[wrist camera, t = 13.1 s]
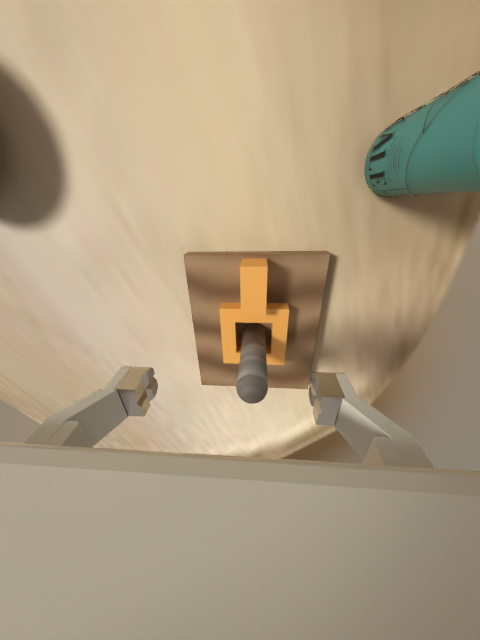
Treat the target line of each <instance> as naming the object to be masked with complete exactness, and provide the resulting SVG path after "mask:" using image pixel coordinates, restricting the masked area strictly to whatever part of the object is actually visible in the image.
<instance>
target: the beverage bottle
mask: <svg viewBox="0 0 480 640" xmlns="http://www.w3.org/2000/svg"><path fill="white" fill-rule="evenodd" d="M477 74H478V75H477ZM477 74H476V75H477V76H476V77H475V76H474V75H475V74H473V75H472V76H474V78H472V79H470V80H469V79H468V78H466V79H468V80H469V81H468V80H466V79H465V80H466V81H467V82H466V81H465V80H464V82H463V81H462V83H461V82H460V83H461V85H459V84H458V85H455V86H458V87H456V88H455V89H453V90H452V89H451V88H450V90H451V91H450V92H449V90H448V91H446V92H447V93H446V92H445V95H443V94H442V96H441V97H440V96H439V97H440V98H438V99H436V100H434V101H433V102H431V103H429V104H428V105H424V106H423V107H421V108H420V107H419V108H420V109H418V108H417V110H416V109H415V110H416V112H414V113H412V114H410V115H408V116H405V117H404V116H403V117H401V119H402V120H401V119H398V121H397V120H396V121H397V123H396V122H395V123H394V124H393V123H392V125H391V126H390V127H388V128H387V129H386V130H385V131H384V132H383V133H381V135H378V136H379V137H378V138H377V140H376V139H375V140H376V141H375V142H373V143H374V144H373V145H372V147H371V149H370V151H369V152H368V156H367V158H366V162H365V178H366V182H367V183H368V185H369V188H371V189H372V190H373V192H376V193H377V194H379V195H383V197H384V196H388V197H389V196H392V197H393V196H403V195H407V196H408V195H409V196H410V195H420V194H428V193H448V192H470V191H480V71H478V72H477ZM469 78H470V77H469ZM463 83H464V84H463ZM453 88H454V87H453ZM443 93H444V92H443ZM437 97H438V96H437ZM437 97H436V98H437ZM431 100H432V99H431ZM426 103H427V102H426ZM413 111H414V110H413ZM411 112H412V111H411ZM411 112H410V113H411ZM408 114H409V113H408ZM406 115H407V114H406ZM399 120H400V121H399ZM379 195H378V196H379ZM419 197H420V196H419ZM397 198H398V197H397Z"/></svg>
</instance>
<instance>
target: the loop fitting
mask: <svg viewBox="0 0 480 640" xmlns="http://www.w3.org/2000/svg"><path fill="white" fill-rule="evenodd" d="M267 272H268V265H267V258H242V261H241V265H240V293H241V303H221V306H220V308H219V311H220V324H221V337H222V351H223V363H235V364H239V362H240V354H241V346H242V345H238V344H237V322H243V323H272V325H271V346H267V345H266V360H267V365H284V363H285V352H286V340H287V329H288V318H289V307H288V303H266V300H267Z"/></svg>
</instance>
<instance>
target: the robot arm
mask: <svg viewBox="0 0 480 640" xmlns="http://www.w3.org/2000/svg"><path fill="white" fill-rule="evenodd" d="M154 374H155V373H154V370H153V368H151V367H129V366H124V367H121V368H120V370H119V371H118V372H117V373H116V374H115V376H114V377H113V378H112V379H111V381H110V382H109V383H108V384H107V385H106V387H105V388H104V389H100V390H98V391H96V392H94V393H92V394H91V395H89V396H87V397H85V398H83V399H82V400H80V401H78V402H76V403H75V404H73V405H71V406H69V407H67V408H66V409H64V410H62V411H60V412H58V413H57V414H55V415H53V416H51V417H49V418H48V419H46V421H45V422H44V423H43V424H42V425H41V426H40V427H39V428H38V429H37V430H36V431H35V432H34V433H33V434H32V435H31V436H30V437H29V438H28V439H27V440H26V441H25V442H24V443H10V442H0V640H480V471H467V470H450V469H435V468H434V467H433V465H432V464H431V462H430V461H429V459H428V458H427V456H426V455H425V453H424V451H423V450H422V448H421V447H420V446H419V444H418V442H417V441H416V439H415V438H414V437H413V436H411V435H410V434H409V433H407V432H406V431H405V430H403V429H402V428H401V427H399V426H398V425H397V424H395V423H394V422H392V421H391V420H390V419H388V418H387V417H386V416H384V415H383V414H382V413H380V412H379V411H378V410H376V409H375V408H373V407H372V406H371V405H369V404H368V403H367V402H365V401H364V400H363V399H358V397H357V395H356V393H355V391H354V389H353V387H352V385H351V383H350V381H349V379H348V377H347V375H346V374H345V373H325V372H313V373H312V375H311V380H312V383H311V384H310V387H309V398H310V403H311V405H312V406H313V407H314V408H313V415H314V419H315V423H316V425H329V426H335V428H336V429H337V430H338V431H339V432H340V433H341V434H342V436H343V437H344V438H345V439H346V440H347V441H348V442H349V443H350V444H351V446H352V447H353V448H354V449H355V450H356V451H357V452H358V454H359V455H360V456H361V457H362V458H363V459H364V461H363V464H353V463H337V462H321V461H304V460H287V459H272V458H255V457H238V456H222V455H206V454H190V453H174V452H157V451H141V450H125V449H108V448H93V446H94V445H95V444H97V443H98V442H99V441H100V440H101V439H102V438H104V437H105V436H106V435H107V434H108V433H110V432H111V431H112V430H113V429H114V428H115V427H117V426H118V425H119V424H120V423H121V422H122V421H124V420H125V419H126V418H127V417H128V416H145V414H146V412H147V410H148V409H149V407H150V402H149V401H151V400H152V399H153V398H154V397H155V395H156V393H157V388H158V384H157V380H156V379H155V378H154V377H153V375H154Z"/></svg>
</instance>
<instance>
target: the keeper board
mask: <svg viewBox="0 0 480 640" xmlns="http://www.w3.org/2000/svg"><path fill="white" fill-rule="evenodd" d="M242 258H267V265H268V272H267V300H266V303H288V307H289V318H288V329H287V340H286V352H285V363H284V365H267V360H266V345H267V346H271V325H272V323H243V322H237V344H238V345H242V346H241V354H240V362H239V364H235V363H223V351H222V337H221V324H220V311H219V308H220V306H221V303H241V293H240V265H241V261H242ZM329 259H330V254H329V253H328V252H326V251H272V252H188V253H186V254H185V255H184V262H185V269H186V276H187V283H188V290H189V297H190V304H191V311H192V318H193V325H194V333H195V340H196V347H197V354H198V361H199V368H200V375H201V382H202V385H220V386H236V388H237V393H238V395H239V397H240V398H241V399H242V400H243V401H245V402H247V403H258V402H260V401H261V400H263V399H264V397H265V396H266V394H267V390H268V387H269V388H293V389H308V385H309V379H310V373H311V367H312V361H313V355H314V349H315V343H316V337H317V331H318V325H319V319H320V313H321V307H322V301H323V295H324V289H325V283H326V277H327V271H328V265H329Z"/></svg>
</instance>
